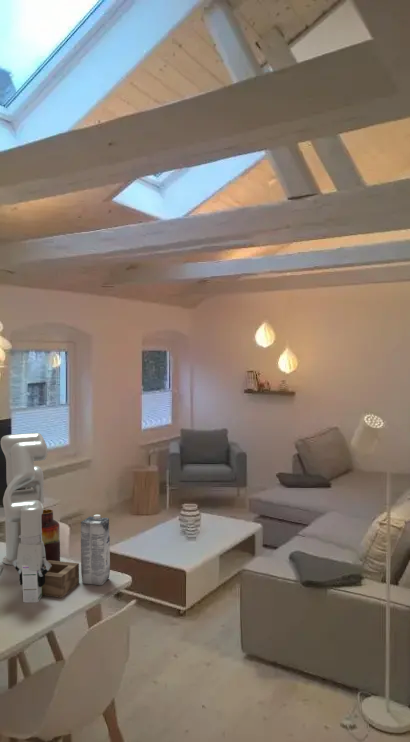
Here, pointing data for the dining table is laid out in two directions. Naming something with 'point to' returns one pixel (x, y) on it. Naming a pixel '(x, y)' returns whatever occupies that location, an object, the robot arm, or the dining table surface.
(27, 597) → the syrup box
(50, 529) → the vase
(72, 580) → the socket block
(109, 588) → the dining table surface
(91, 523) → the juice carton
